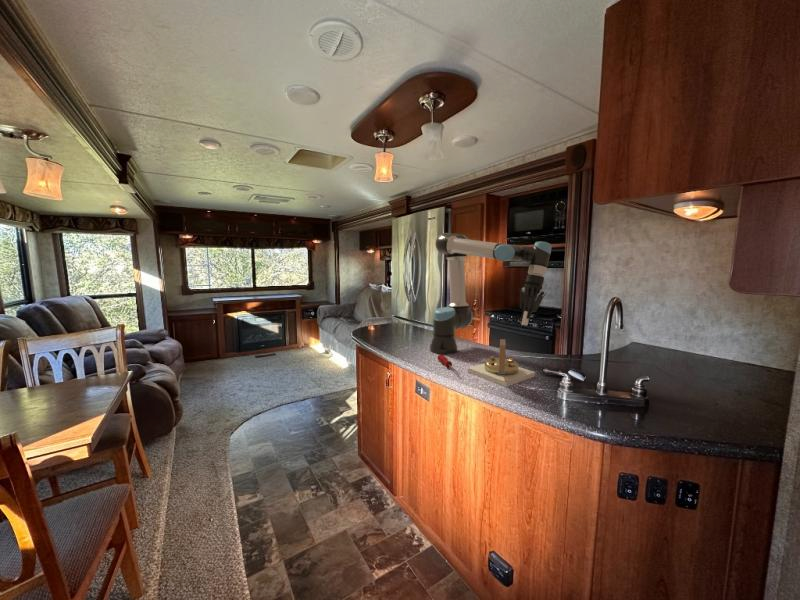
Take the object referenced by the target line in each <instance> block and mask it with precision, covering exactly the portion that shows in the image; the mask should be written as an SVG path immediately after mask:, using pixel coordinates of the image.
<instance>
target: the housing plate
mask: <svg viewBox="0 0 800 600" xmlns="http://www.w3.org/2000/svg"><path fill="white" fill-rule="evenodd" d="M467 373H469V374H472V375H473V376H477V377H480V378H482V379H483V380H486V381H489V380H490V382H493V383H495V384H498V385H500V386H503V387H505V388H506V387H509V386H512V385H515V384H518V383H520V382H524V381H526V380H530V379H532V378H535V377H536V371H533V370H529V369H528V368H527V369H526V368H523V367H521V366H518V373H516V374H513V375H499V374H494V373H491V372H488V371H487V370H485V362H484V363H481V364H477V365H473V366H470V367H468V368H467Z"/></svg>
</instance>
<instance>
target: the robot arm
mask: <svg viewBox="0 0 800 600" xmlns="http://www.w3.org/2000/svg"><path fill="white" fill-rule="evenodd" d="M435 248H436V250H437V251H438V252H439V253H440V254H443V255H445V259H446V260H448V268H449V269H448V270H449V291H450V303H449V304H448V306H445V307H443V306H442V307H438V308H435V309H434V312H433V316H432V317H433V323H432V324H433V329H432V330H433V331H432V332H433V333H432V339H431V343H430V345H429V351H430V352H431V353H435V354H438V355H440V354H443V355H449V354H450V355H451V354H454V353H457V352H458V345H457V342H456V337H455V332H456V330H460V329H465V328H466V327H469V326H470V325H471V324H472V322H473V321H474V320H473V319H474V314H473V311H472V310H471V309H470V307H469V306H470V305H469V303H467V299H466V279H465V278H466V275H465V259H466V258H467V257H468V256H473V257H480V258H486V259H492V260H498V261H501V262H526V263H529V267H528V270H527V276H526V278H525V284H524V286H523V287H521V288H518V291H519V309H521V310H522V312H521V318H522V319H521V326H526V327H527V326H528V324H529V320H530V319H531V318H532V314H533V313H534V312H538V309H539V307H540V305H541V303H542V301H543V299H544V298H545V296H546V295H547V292H545V290H543V285H544V281H545V276H546V273H547V270H548V269H547V268H548V265H549V261H550V258H551V257H550V256H551V253H552V244H551V243H549V242H547V241H536V242H535V243H534V244H533V245H532V246H531V245H530V246H529V245H518V244H508V243H499V242H490V241H483V240H477V239H469V238H468V237H467V236H466V235H464V234H461V233H451V232H444V233H440V234H439V235H438V236H437V237H436V239H435Z"/></svg>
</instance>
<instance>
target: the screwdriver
mask: <svg viewBox="0 0 800 600" xmlns="http://www.w3.org/2000/svg"><path fill="white" fill-rule="evenodd" d="M437 360H438V361H439V362H440V363H441V364H442V365H445V367H446V368H447V369H450V368H451V369H452V370H453V371H454V372H455V373H456V374H457V375H459V376H460V375H461V373H459V371H457V370H456V369H455V368H454V367H453V363H452V361H450V360H449V359H448V358H447V357H446V356H445V354H438V356H437Z"/></svg>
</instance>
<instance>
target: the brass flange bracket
mask: <svg viewBox="0 0 800 600" xmlns="http://www.w3.org/2000/svg"><path fill="white" fill-rule="evenodd" d="M506 346H507V345H506V339H505V338H503V339H502V338H500V339H499V357H496V356H493V355H491V356H488V358H487V359H485V360H484V363H485V370H487V371H488V372H491V373H494V374H499V375H513V374H516V373H518V367H520V366H519V363H518V362H517V361H515V358H513V357H509V358H506Z"/></svg>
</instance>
